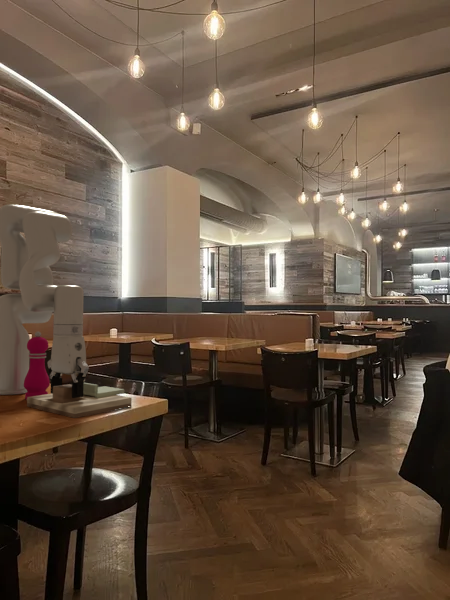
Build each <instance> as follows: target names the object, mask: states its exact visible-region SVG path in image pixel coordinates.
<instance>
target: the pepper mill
mask: <svg viewBox="0 0 450 600" xmlns="http://www.w3.org/2000/svg"><path fill="white" fill-rule="evenodd" d="M27 349H28V350H29V357H28V358H29V370H28V373H27V375H26V377H25V380H24V388H25V389H26V390H27V392H26V393H24V399H25V400H26V401H27V397H32V396H39V395H46V394H49V392H48V391H47V389H48V388H50V386H51V380H50V376H49V375H48V372H47V369H46V365H45V364H46V363H45V362H46V358H47V352H46V351H47V350H48V349H49V341H48V339H47V338H45V337H42V332H40V331H35V333H34V336H33V337H31V338H30V340H29V341H28V343H27Z"/></svg>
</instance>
